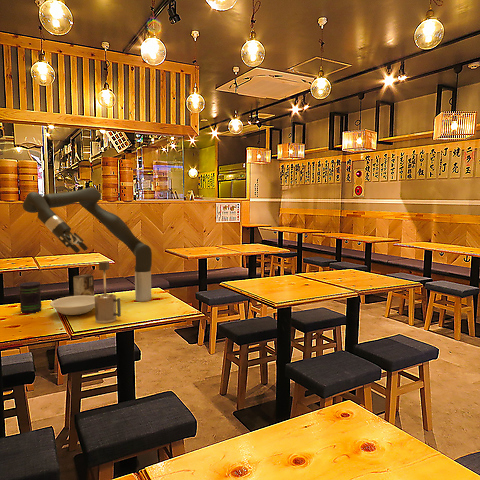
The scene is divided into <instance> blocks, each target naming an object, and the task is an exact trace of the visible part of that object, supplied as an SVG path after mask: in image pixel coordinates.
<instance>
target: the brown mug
mask: <svg viewBox="0 0 480 480" xmlns="http://www.w3.org/2000/svg"><path fill="white" fill-rule="evenodd" d="M95 296H96V297H95V307H94V314H95V315H94V318H95V323H97V324H109V323H114V322H116V321H117V318H120V317H121V316H122V314H121V313H122V310H121V306H122V305H121V297H118V298H117V296H116V295H115V294H112V293H106V296H112V297H108V298H99V297H101V296H104V293H103V294H98V295H95Z"/></svg>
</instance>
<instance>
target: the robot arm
mask: <svg viewBox="0 0 480 480" xmlns="http://www.w3.org/2000/svg"><path fill="white" fill-rule="evenodd" d="M101 197H102V195H101V192H100V191H99V190H98V189H97V188H95V187H92V186H91V187H86V188H83V189H77V190H73V191H72V190H71V191H66V192H56V193H47V194H44V195H41V194H40V193H38V192H36V191H30V192H29V193H27V194H26V197H25V199H24V201H23V203H22V208H23V210H24V211H25V212H27V213H30V214H31V213H32V214H37V218H38V220H39V221H40V222H41V223H42V224H44V226H45V227H46V228H47V229H48V230H49V231H50V232H51V233H52V234H53V235H54V236H55V237H56V238H57V239H58V240H59V241H60V242H61V243H62V244H63V245H64V246H65V247H66V248H70V249H72V250H73V252H75V253H76V254H79V252H80V251H81V249H82V250H83V251H85V252H86V251H87V250H88V246H87V245H86V244H85V243H84V241H85V240H84V239H83V238H82V237H81V236H80V235H78V233H76V232H74V233H72V232H71V230H72V228H71V226H69V224H67V223H66V221H65V220H63V218H62V217H60V216H58V215H57V214H56V212H54V210H52V209H54V208H61V207H66V206H69V205H73V204H75V203H79V204H80V205H79V206H81V207H82V208H83V209H84V210H86V211H87V212H89V213H90V214H91V215H92V216H94V217H95V218H96V219H97V220H98V222H100V223H101V224H102V225H103V226H104V227H105V228H106V229H107V230H108V231H109V232H110V233H111V234H112V235H113V236H114V237H116V239H118V240H120V241H121V243H123V244H124V245H125V246H126V247H127V248H128V249H129V250H130V251H131V253H132V254H133V255H134V256H135V266H134V292H135V295H134V296H135V298H134V301H136V302H148V301H151V300H152V264H153V263H152V262H153V261H152V260H153V259H152V258H153V256H152V254H153V253H152V248H151V247H150V246H149V245H148V244H146V243H144V242H143V241H141V240H140V239H138V237H136V236H135V234H134V233H133V231H132V230H131V229H130V227H129V226H128V225H127V224H126V222H125V221H124V220H122V218H120V217H119V215H117V214H115V213H113V212H111V211H108V210H106V209H104V208H102V207H101V206H100V205H99V204H98V202H99V201H100V200H101ZM77 245H78V246H77ZM79 247H80V248H79Z"/></svg>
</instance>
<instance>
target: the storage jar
mask: <svg viewBox="0 0 480 480" xmlns="http://www.w3.org/2000/svg"><path fill="white" fill-rule="evenodd" d="M41 288H42V287H41V282H40V281H26V282H21V283H19V296H20V307H19V308H20V313H21V312H22V313H34V314H37V313H36V312H38V313H40V312H39V311H41V310H42V299H41V293H42V292H41V291H42V290H41ZM41 312H42V311H41ZM22 313H21V314H22Z"/></svg>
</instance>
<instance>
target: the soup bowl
mask: <svg viewBox="0 0 480 480" xmlns="http://www.w3.org/2000/svg"><path fill="white" fill-rule="evenodd" d="M96 296H97V295H94V296H89V295H80V296H74V295H70V296H65V297H60V298H57V299H54V300H52V301H50V302H49V306H50V307H53V309H55V310H56V311H57V313H60V314H62V315H66V316H75V315H76V316H77V315H82V314H83V315H84V314H86V313H88V312H90V311H92V310H93V309H95V297H96Z"/></svg>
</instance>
